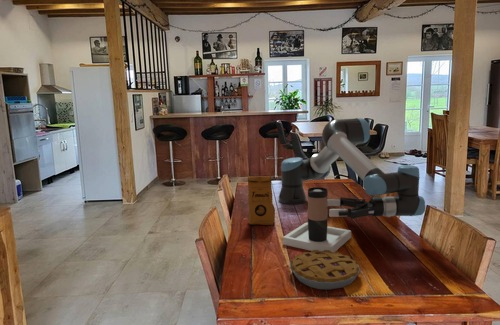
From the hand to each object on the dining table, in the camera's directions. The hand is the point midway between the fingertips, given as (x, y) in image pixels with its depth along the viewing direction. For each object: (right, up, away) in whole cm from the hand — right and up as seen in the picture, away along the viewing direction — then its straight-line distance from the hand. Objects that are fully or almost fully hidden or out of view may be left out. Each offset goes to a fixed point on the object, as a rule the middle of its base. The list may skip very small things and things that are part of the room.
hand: (326, 207), depth 145 cm
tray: (-3, -14, +3) cm, 14 cm away
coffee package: (-24, -11, +26) cm, 37 cm away
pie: (-6, -19, -25) cm, 32 cm away
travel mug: (-3, -13, +3) cm, 13 cm away
